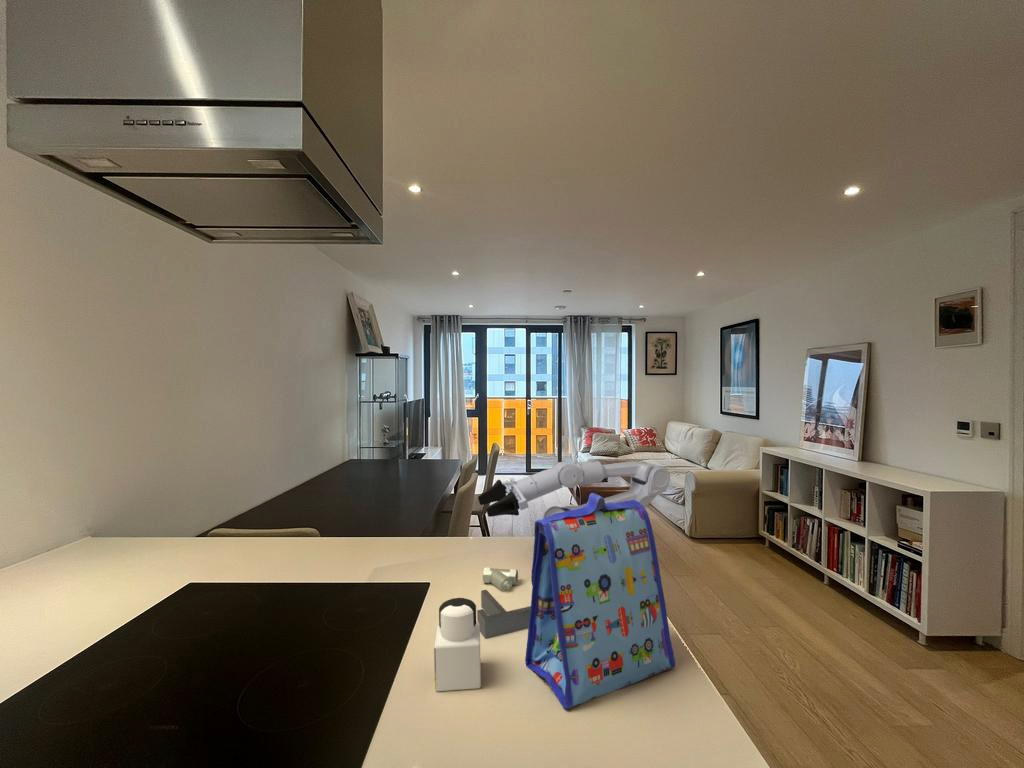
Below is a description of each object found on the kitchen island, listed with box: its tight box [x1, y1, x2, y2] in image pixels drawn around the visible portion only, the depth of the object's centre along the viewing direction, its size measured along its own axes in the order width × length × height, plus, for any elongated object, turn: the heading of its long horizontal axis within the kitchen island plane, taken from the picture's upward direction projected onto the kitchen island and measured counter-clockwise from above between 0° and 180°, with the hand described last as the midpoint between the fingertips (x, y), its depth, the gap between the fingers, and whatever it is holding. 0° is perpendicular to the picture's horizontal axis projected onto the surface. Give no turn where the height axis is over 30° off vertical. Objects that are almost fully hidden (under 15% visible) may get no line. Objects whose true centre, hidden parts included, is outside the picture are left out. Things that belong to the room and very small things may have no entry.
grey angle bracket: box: [476, 589, 531, 640], centre depth 97 cm, size 22×12×4 cm, turn 114°
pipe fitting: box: [482, 567, 519, 593], centre depth 109 cm, size 8×4×7 cm
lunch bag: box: [524, 492, 676, 710], centre depth 77 cm, size 22×14×29 cm, turn 117°
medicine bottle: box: [433, 597, 482, 692], centre depth 75 cm, size 7×7×12 cm
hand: (482, 506), depth 112 cm, fingers open, 7 cm apart
